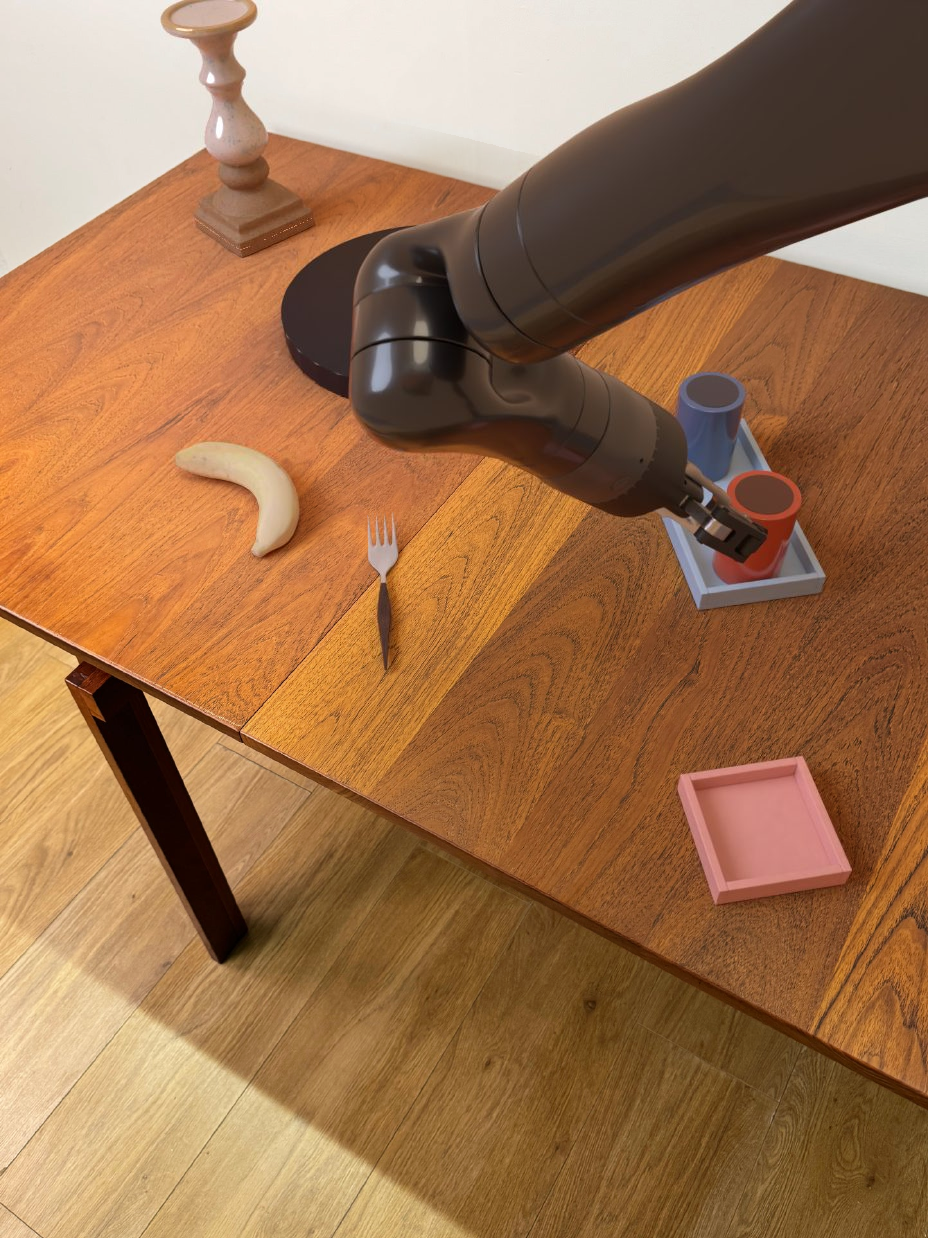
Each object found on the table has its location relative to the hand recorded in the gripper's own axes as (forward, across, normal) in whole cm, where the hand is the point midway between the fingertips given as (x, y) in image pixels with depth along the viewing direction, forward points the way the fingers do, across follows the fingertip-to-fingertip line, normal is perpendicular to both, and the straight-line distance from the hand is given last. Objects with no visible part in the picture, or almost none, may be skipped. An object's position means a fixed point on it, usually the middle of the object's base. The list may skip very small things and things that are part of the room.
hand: (717, 505), depth 74 cm
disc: (+8, +47, +7) cm, 48 cm away
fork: (-8, +14, +23) cm, 28 cm away
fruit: (-12, +31, +27) cm, 43 cm away
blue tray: (+12, +6, +2) cm, 14 cm away
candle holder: (+3, +77, +12) cm, 78 cm away
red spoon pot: (+10, 0, +3) cm, 11 cm away
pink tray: (0, -19, +14) cm, 24 cm away
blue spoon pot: (+14, +12, 0) cm, 18 cm away
